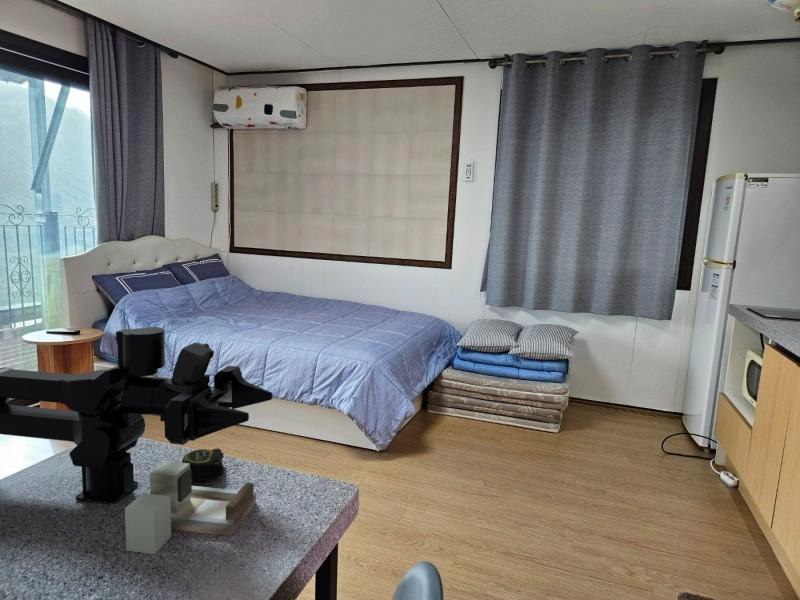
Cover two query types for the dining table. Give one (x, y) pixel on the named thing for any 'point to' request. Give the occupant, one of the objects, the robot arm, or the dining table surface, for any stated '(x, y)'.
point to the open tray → (200, 501)
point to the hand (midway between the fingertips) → (260, 406)
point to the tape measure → (204, 464)
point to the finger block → (148, 523)
